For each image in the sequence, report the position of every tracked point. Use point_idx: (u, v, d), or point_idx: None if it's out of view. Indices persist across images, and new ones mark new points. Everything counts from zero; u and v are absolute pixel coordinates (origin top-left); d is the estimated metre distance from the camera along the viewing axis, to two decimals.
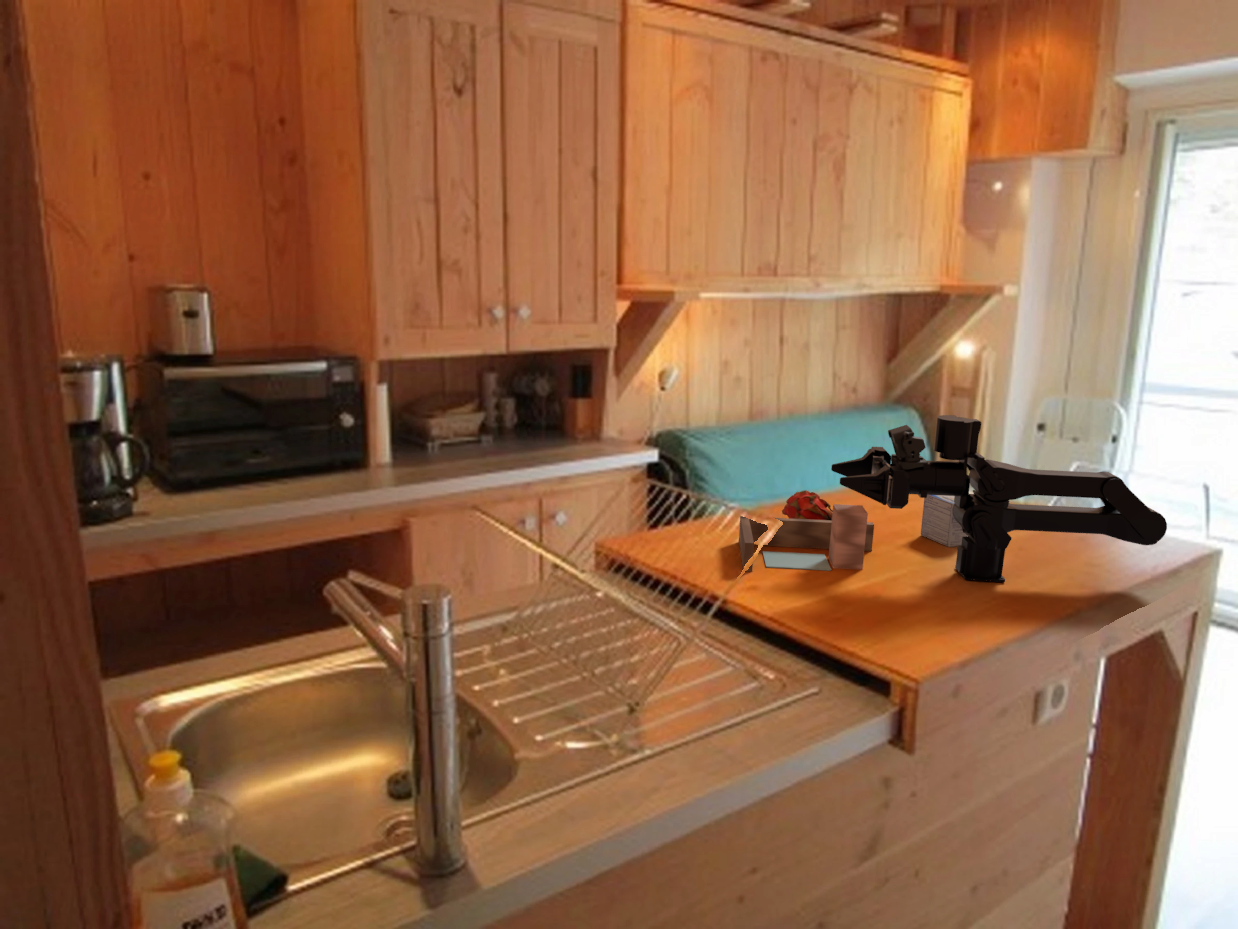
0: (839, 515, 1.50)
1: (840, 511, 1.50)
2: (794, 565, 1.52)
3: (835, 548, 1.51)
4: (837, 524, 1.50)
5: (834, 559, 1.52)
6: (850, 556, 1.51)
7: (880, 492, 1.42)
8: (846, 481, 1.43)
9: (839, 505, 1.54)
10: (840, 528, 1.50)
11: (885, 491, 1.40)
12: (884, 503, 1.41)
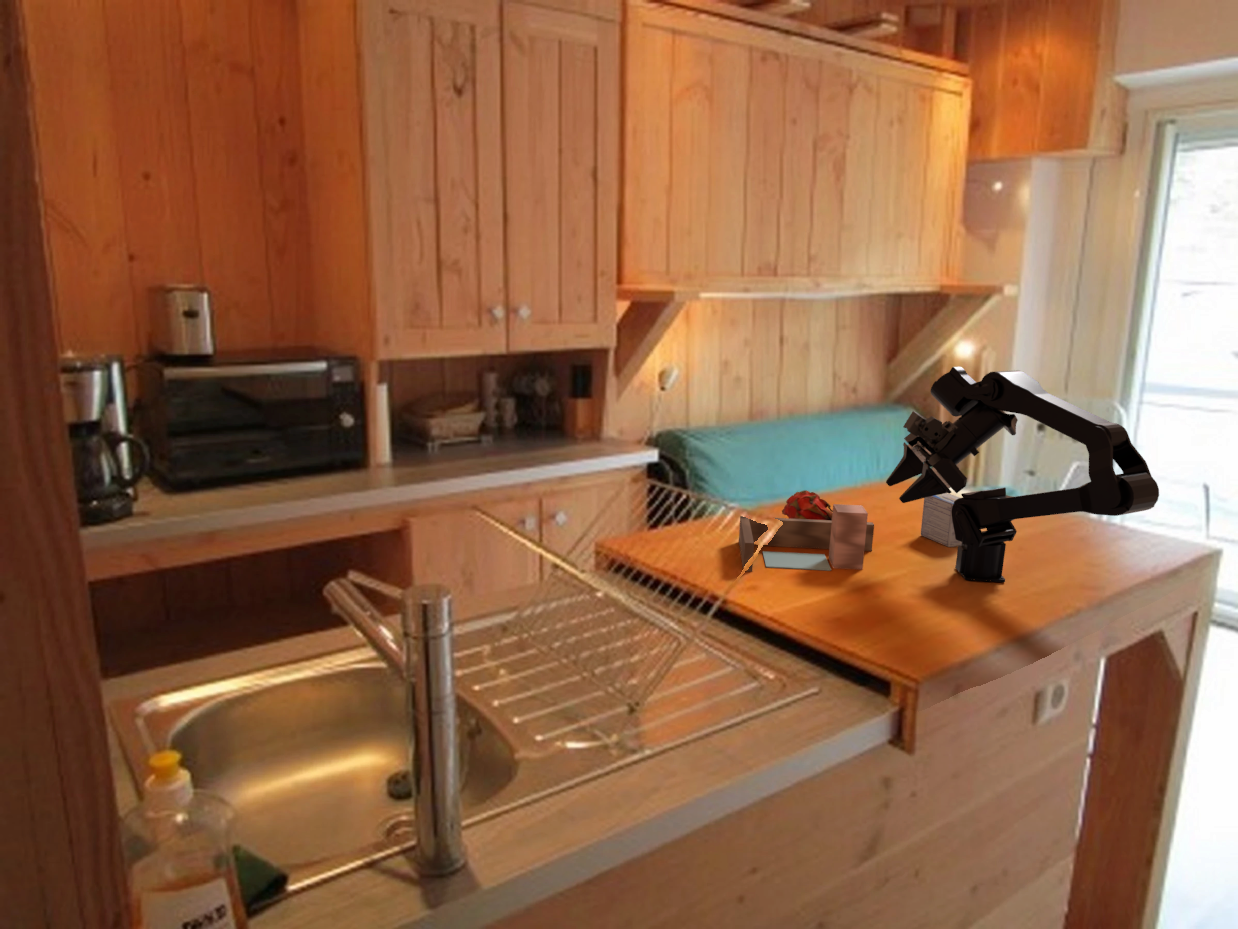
0: (839, 515, 1.50)
1: (840, 511, 1.50)
2: (794, 565, 1.52)
3: (835, 548, 1.51)
4: (837, 524, 1.50)
5: (834, 559, 1.52)
6: (850, 556, 1.51)
7: (939, 484, 1.44)
8: (906, 497, 1.46)
9: (839, 505, 1.54)
10: (840, 528, 1.50)
11: (941, 483, 1.42)
12: (949, 492, 1.42)
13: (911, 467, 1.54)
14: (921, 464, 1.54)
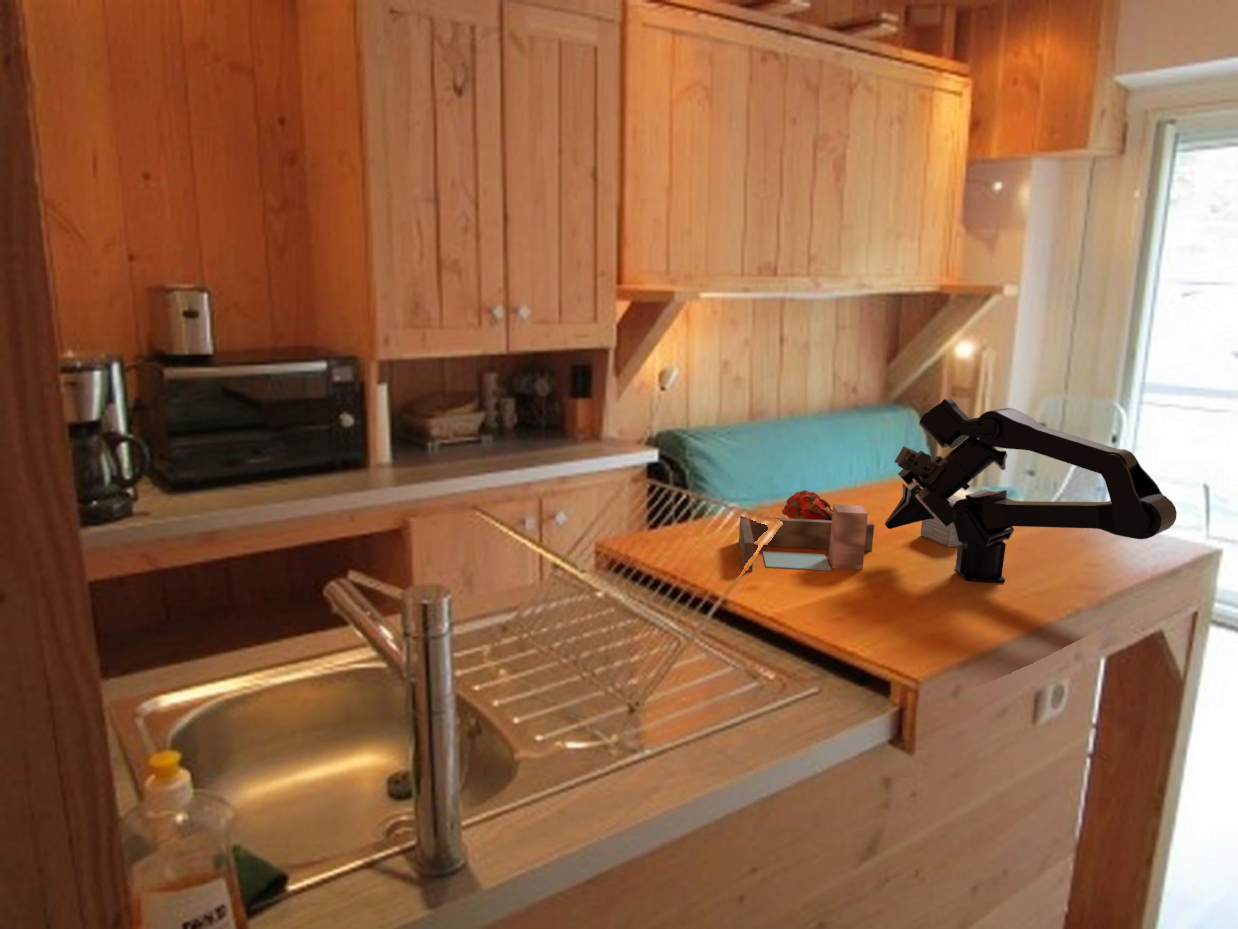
0: (839, 515, 1.50)
1: (840, 511, 1.50)
2: (794, 565, 1.52)
3: (835, 548, 1.51)
4: (837, 524, 1.50)
5: (834, 559, 1.52)
6: (850, 556, 1.51)
7: (922, 511, 1.49)
8: (891, 523, 1.51)
9: (839, 505, 1.54)
10: (839, 528, 1.50)
11: (924, 509, 1.47)
12: (932, 518, 1.48)
13: None
14: None
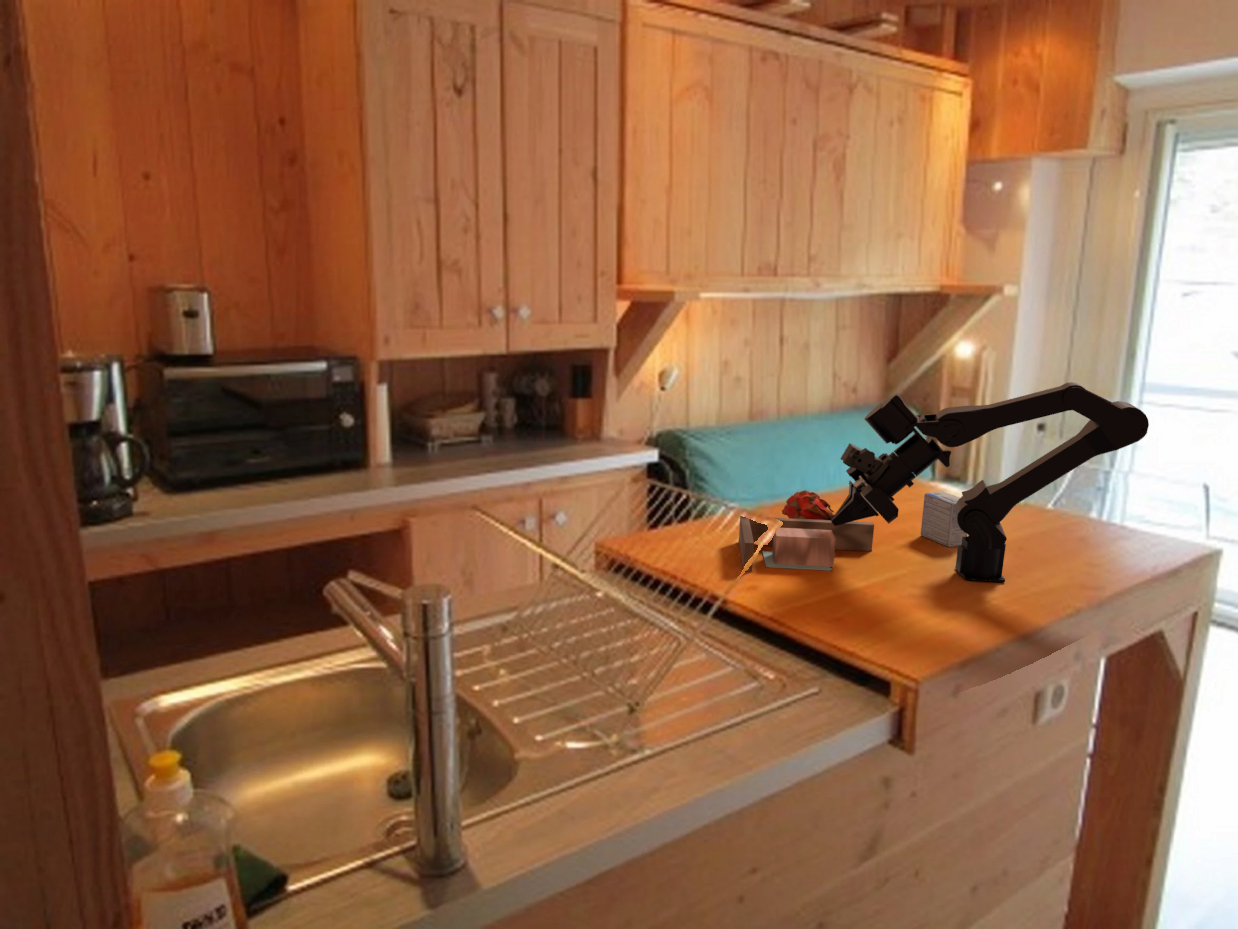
0: (777, 562, 1.53)
1: (774, 559, 1.53)
2: (794, 565, 1.52)
3: (812, 564, 1.52)
4: (787, 563, 1.52)
5: (824, 565, 1.52)
6: (821, 550, 1.51)
7: (867, 508, 1.50)
8: (837, 520, 1.52)
9: (772, 550, 1.57)
10: (791, 561, 1.52)
11: (868, 506, 1.48)
12: (876, 515, 1.48)
13: None
14: None
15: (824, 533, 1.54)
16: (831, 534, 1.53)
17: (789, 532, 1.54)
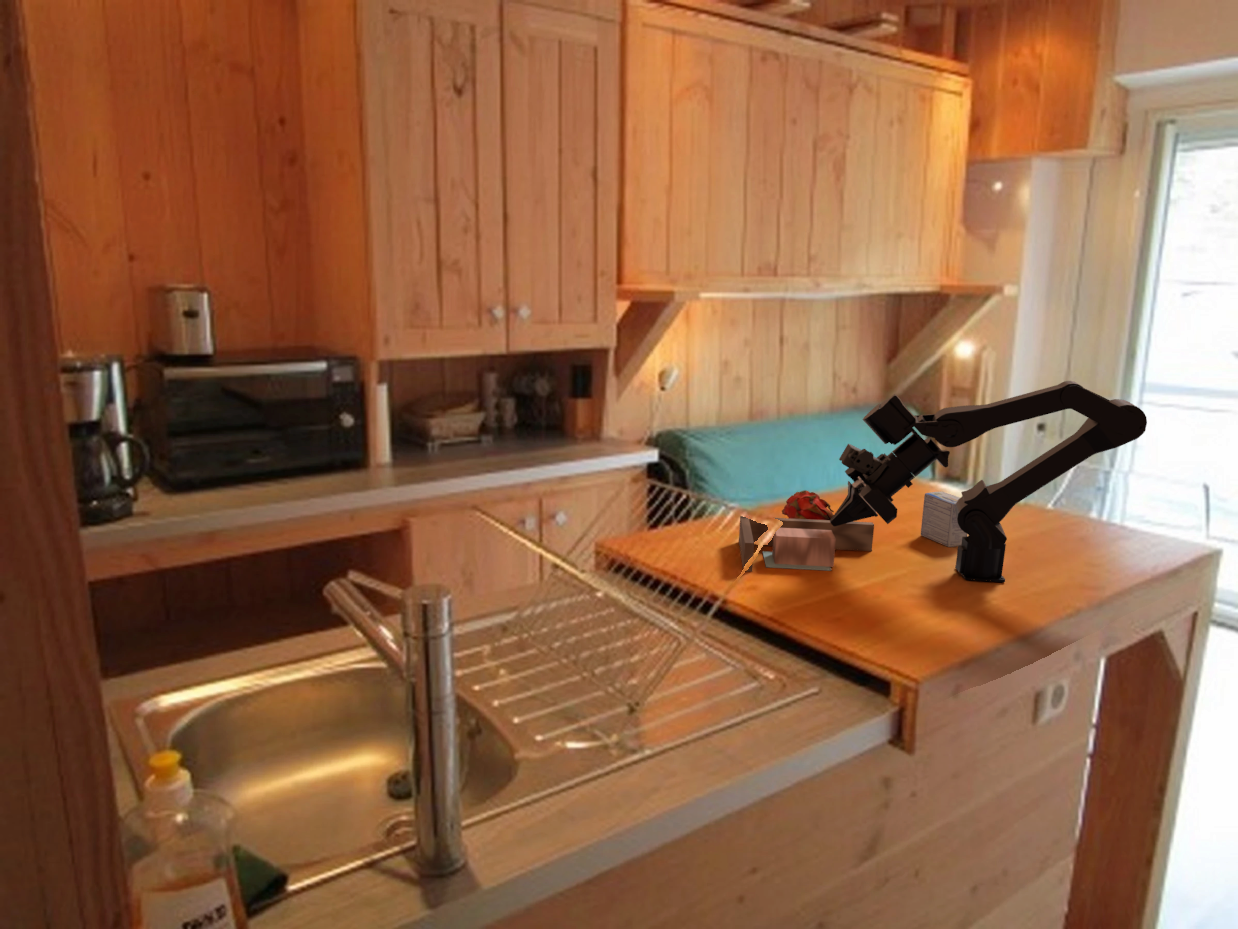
0: (777, 562, 1.53)
1: (774, 559, 1.53)
2: (794, 565, 1.52)
3: (812, 564, 1.52)
4: (787, 563, 1.52)
5: (824, 565, 1.52)
6: (821, 550, 1.51)
7: (866, 508, 1.50)
8: (836, 521, 1.52)
9: (772, 550, 1.57)
10: (791, 561, 1.52)
11: (867, 507, 1.48)
12: (875, 515, 1.48)
13: None
14: None
15: (824, 533, 1.54)
16: (831, 534, 1.53)
17: (789, 532, 1.54)
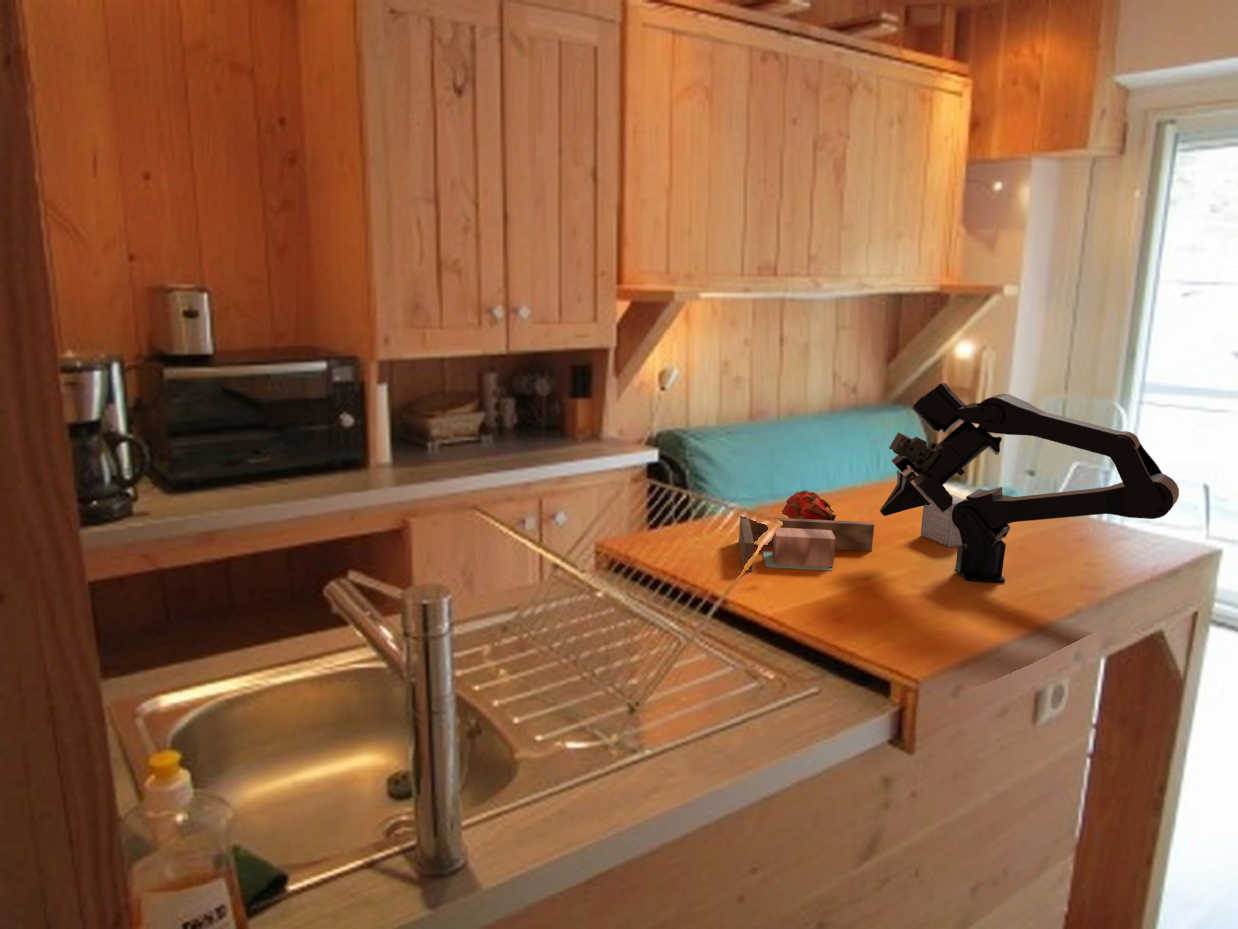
0: (777, 562, 1.53)
1: (774, 559, 1.53)
2: (794, 565, 1.52)
3: (812, 564, 1.52)
4: (787, 563, 1.52)
5: (824, 565, 1.52)
6: (821, 550, 1.51)
7: (918, 497, 1.48)
8: (886, 510, 1.50)
9: (772, 550, 1.57)
10: (791, 561, 1.52)
11: (920, 496, 1.46)
12: (928, 504, 1.47)
13: None
14: None
15: (824, 533, 1.54)
16: (831, 534, 1.53)
17: (789, 532, 1.54)
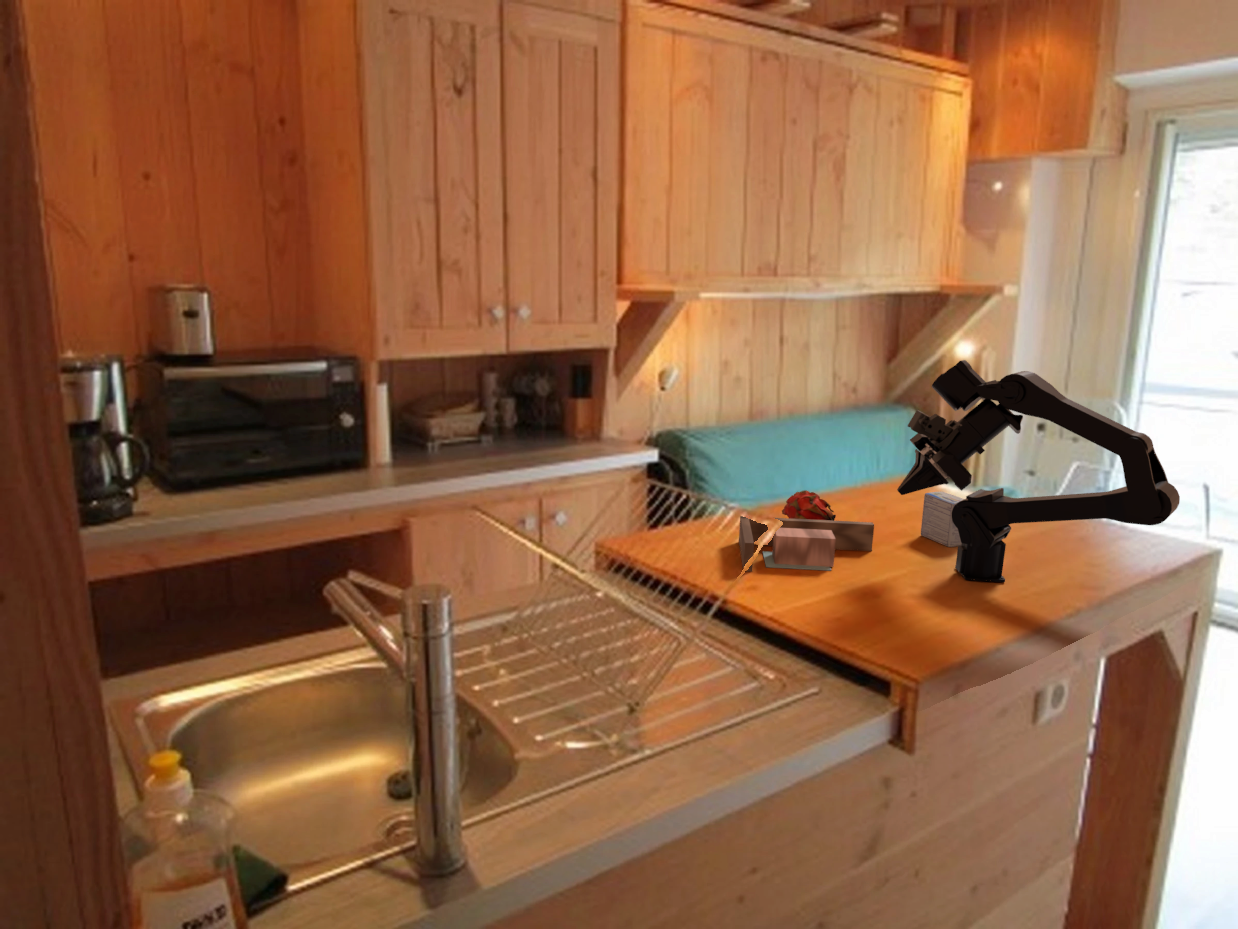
0: (777, 562, 1.53)
1: (774, 559, 1.53)
2: (794, 565, 1.52)
3: (812, 564, 1.52)
4: (787, 563, 1.52)
5: (824, 565, 1.52)
6: (821, 550, 1.51)
7: (936, 476, 1.46)
8: (904, 489, 1.48)
9: (772, 550, 1.57)
10: (791, 561, 1.52)
11: (938, 474, 1.44)
12: (946, 483, 1.44)
13: None
14: None
15: (824, 533, 1.54)
16: (831, 534, 1.53)
17: (789, 532, 1.54)
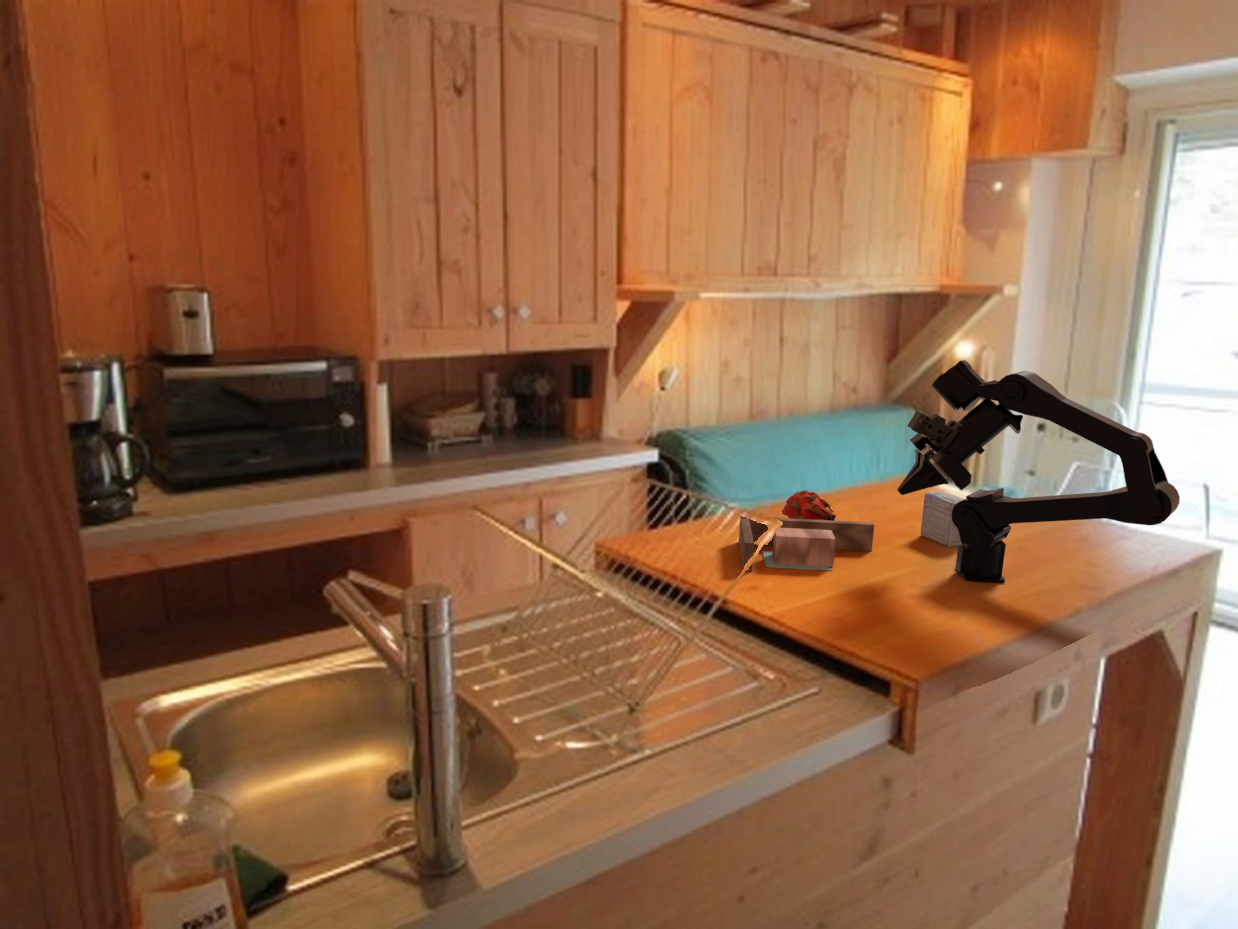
0: (777, 562, 1.53)
1: (774, 559, 1.53)
2: (794, 565, 1.52)
3: (812, 564, 1.52)
4: (787, 563, 1.52)
5: (824, 565, 1.52)
6: (821, 550, 1.51)
7: (936, 476, 1.46)
8: (904, 489, 1.48)
9: (772, 550, 1.57)
10: (791, 561, 1.52)
11: (938, 474, 1.44)
12: (946, 483, 1.44)
13: None
14: None
15: (824, 533, 1.54)
16: (831, 534, 1.53)
17: (789, 532, 1.54)
